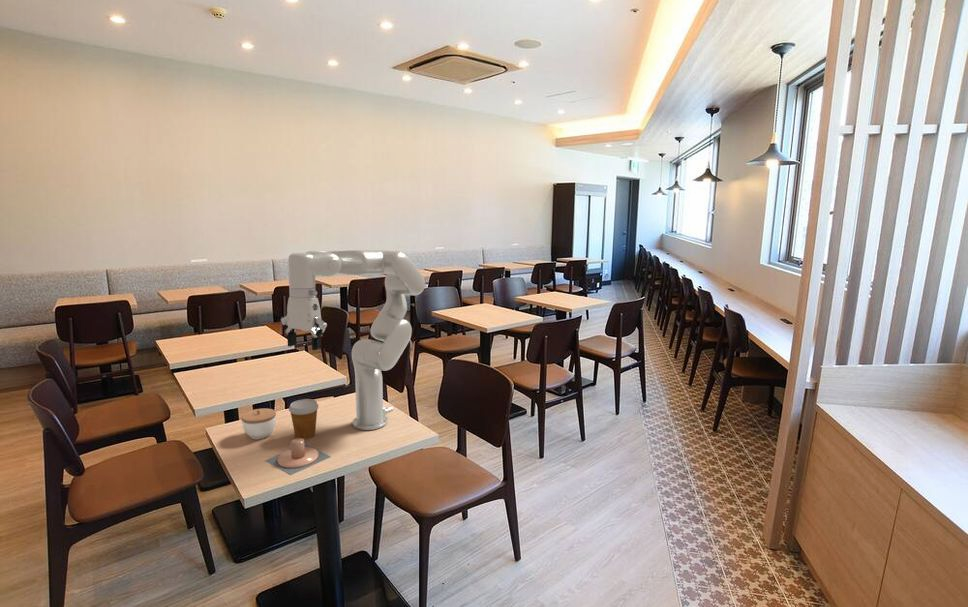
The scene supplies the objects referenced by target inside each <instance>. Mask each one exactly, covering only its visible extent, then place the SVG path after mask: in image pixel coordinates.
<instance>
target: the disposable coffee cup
mask: <svg viewBox="0 0 968 607" xmlns="http://www.w3.org/2000/svg"><path fill="white" fill-rule="evenodd" d="M318 409H319V404H318V402H317V400H315V399H312V398H311V399H310V398H303V399H299V400H294V401H293V402H291V403H290V405H289V407H288V411H289V412H290V417H291V420H292V425H293V426H292V428H293V431H294V435H295V439H297V438H302V439H304V440H308V439H311V438H313V437H314V436H315V435H316V426H317V418H318V417H317V416H318Z"/></svg>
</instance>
